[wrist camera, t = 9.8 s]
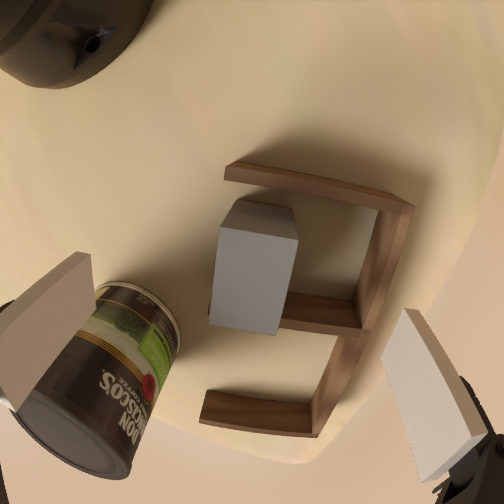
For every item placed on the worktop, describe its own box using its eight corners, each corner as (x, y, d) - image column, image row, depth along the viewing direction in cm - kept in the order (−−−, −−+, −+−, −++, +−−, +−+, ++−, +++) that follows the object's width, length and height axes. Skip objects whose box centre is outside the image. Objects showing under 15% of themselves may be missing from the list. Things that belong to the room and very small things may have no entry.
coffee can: (164, 275, 24) (77, 401, 11) (192, 368, 28) (153, 492, 15) (73, 282, 25) (-20, 371, 12) (108, 364, 29) (51, 460, 16)
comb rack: (234, 161, 20) (225, 166, 17) (392, 193, 20) (414, 206, 17) (206, 394, 29) (199, 422, 25) (314, 409, 29) (317, 437, 25)
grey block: (236, 199, 22) (219, 226, 15) (291, 208, 21) (298, 240, 15) (226, 273, 24) (208, 324, 17) (276, 282, 24) (276, 336, 17)
